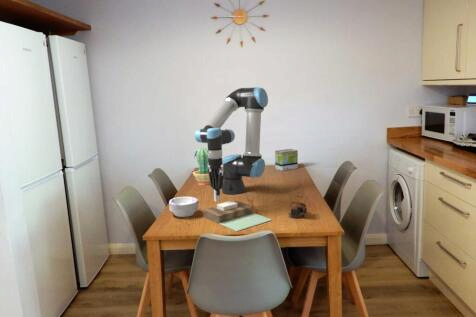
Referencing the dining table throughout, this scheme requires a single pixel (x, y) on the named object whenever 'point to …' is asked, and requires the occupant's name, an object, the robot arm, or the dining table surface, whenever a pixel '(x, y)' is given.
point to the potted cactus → (202, 166)
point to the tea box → (286, 159)
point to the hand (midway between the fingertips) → (217, 200)
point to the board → (228, 212)
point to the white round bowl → (183, 206)
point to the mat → (245, 222)
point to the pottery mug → (297, 210)
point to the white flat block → (227, 205)
